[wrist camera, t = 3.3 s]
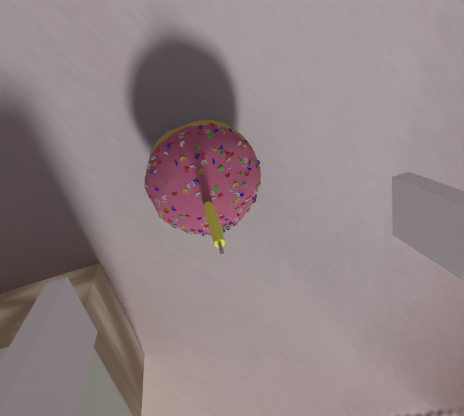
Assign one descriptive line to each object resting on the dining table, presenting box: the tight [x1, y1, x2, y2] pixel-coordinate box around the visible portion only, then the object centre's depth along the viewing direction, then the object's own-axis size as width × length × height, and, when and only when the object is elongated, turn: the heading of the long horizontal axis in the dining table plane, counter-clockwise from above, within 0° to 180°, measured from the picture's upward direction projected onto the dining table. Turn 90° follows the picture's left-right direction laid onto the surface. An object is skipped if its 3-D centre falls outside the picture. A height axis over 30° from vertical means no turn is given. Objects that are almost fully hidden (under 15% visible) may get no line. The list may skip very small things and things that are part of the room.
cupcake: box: [145, 120, 261, 256], centre depth 21 cm, size 9×8×12 cm
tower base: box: [0, 263, 144, 416], centre depth 26 cm, size 12×12×8 cm
